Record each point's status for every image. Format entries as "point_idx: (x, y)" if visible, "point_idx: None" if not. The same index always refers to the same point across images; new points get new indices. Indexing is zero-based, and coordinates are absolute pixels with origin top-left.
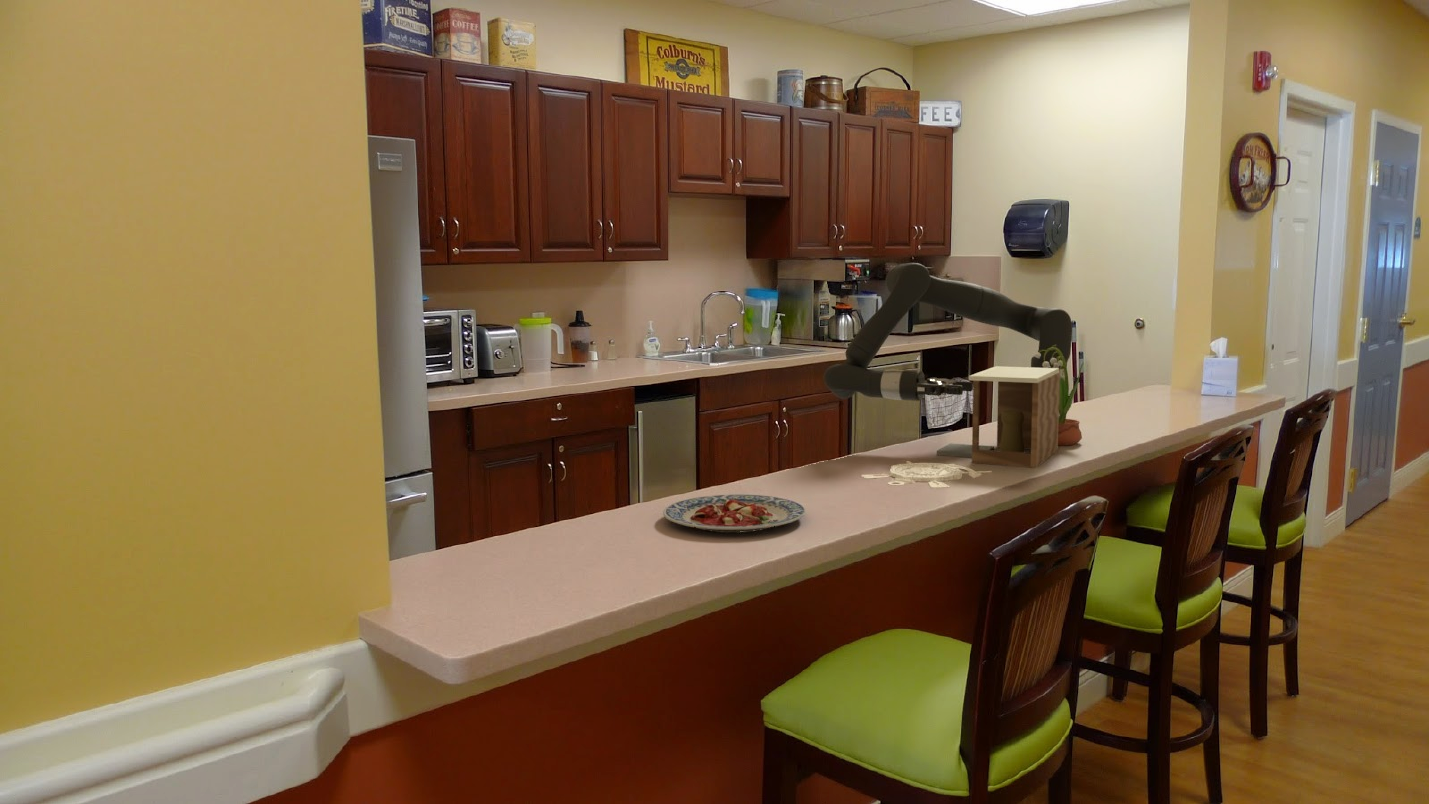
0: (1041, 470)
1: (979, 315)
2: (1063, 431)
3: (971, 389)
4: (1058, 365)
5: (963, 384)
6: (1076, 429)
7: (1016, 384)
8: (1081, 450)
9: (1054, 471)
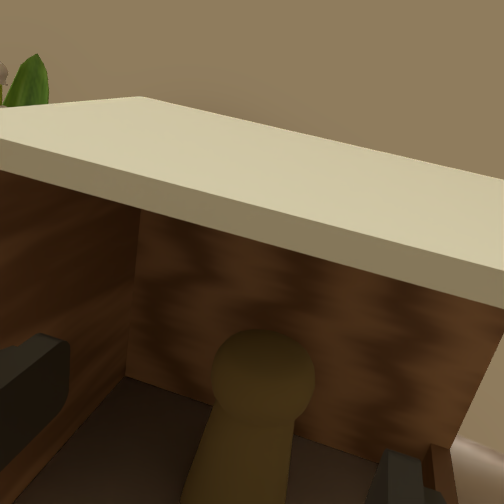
0: (466, 464)
1: None
2: None
3: (64, 392)
4: (7, 71)
5: (8, 406)
6: None
7: (53, 205)
8: None
9: (460, 437)
